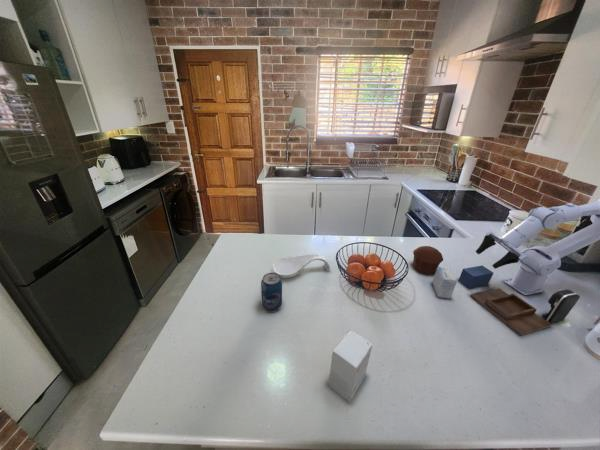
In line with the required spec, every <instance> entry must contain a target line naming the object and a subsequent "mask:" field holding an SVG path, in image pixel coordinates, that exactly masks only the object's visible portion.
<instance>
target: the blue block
mask: <svg viewBox="0 0 600 450" xmlns="http://www.w3.org/2000/svg"><path fill="white" fill-rule="evenodd" d="M494 274H495V273H494V272H493V271H492V270H491V269H488V268H487V267H486V266H484V265H476V266H471V267H465V268H462V270H461V272H460V275H459V278H458V279H457V282H459V283H460V284H462V285H463V286H464V287H466V289H474V288H480V287H483V286H488V285H489V284H490V282H491V280H492V277H493V275H494Z"/></svg>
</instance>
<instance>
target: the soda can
mask: <svg viewBox="0 0 600 450" xmlns="http://www.w3.org/2000/svg"><path fill="white" fill-rule="evenodd" d="M260 292H261V293H260V294H261V295H260V296H261V306H262V308H263V309H264V310H265V311H267V312H268V313H269V312H270V313H273V312H277V311H278V310H279V309H280V308H281V307H282V305H283V280H282V277H280V276H279V275H278V274H276V273H275V272H268V273H265V274H264V275H263V276H262V279H261V281H260Z"/></svg>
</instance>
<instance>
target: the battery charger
mask: <svg viewBox="0 0 600 450" xmlns="http://www.w3.org/2000/svg"><path fill="white" fill-rule="evenodd" d="M580 298H581V295H579V294H578V293H576V292H574V291H572V290H571V289H561V290H556V291H554V292H553V293H552V294H551V296H550V297H549V299H548V300H547V303H548V304H549V305H550V309H549V310H548V312H546V313H543V314H541V318H543V319H544V320H546V321H547V322H549V323H556V322H560V321H564V320H566V317H567V316H568V315H569V313H570V312H571V311H572V309H574V307H575V305H576V304H577V303H578V301H579V300H580Z"/></svg>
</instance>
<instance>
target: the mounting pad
mask: <svg viewBox="0 0 600 450" xmlns="http://www.w3.org/2000/svg"><path fill="white" fill-rule="evenodd" d="M470 297H471V298H472V299H473V300H474V301H476V302H477V303H478V304H479V305H481V307H483V308H484V309H485V310H487V312H489V313H491V314H492V315H493V316H494V317H495V318H497V319H498V320H499V321H501V323H503V324H505V326H507V328H509V329H510V330H512V331H513V332H514V333H516V335H518V336H519V337H520V336H524V335H527V334H530V333H535V332H538V331H541V330H545V329H548V328H551V327H552V326H553V324H552V323H551V322H548V321H546V320H545V319H544V318H543V317H542V316H540V315H539V314H537V313H536V312H537V310H538V309H537V308H536V307H534V306H533V305H531V304H530V303H528V302H527V301H525V300H524V299H522V298H521V297H519V296H518V295H517V294H515V293H510V294H509V293H507V292H505V291H504V290H503V289H501V288H495V289H494V288H493V289H490V290H485V291H481V292H476V293H471V294H470Z"/></svg>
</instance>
